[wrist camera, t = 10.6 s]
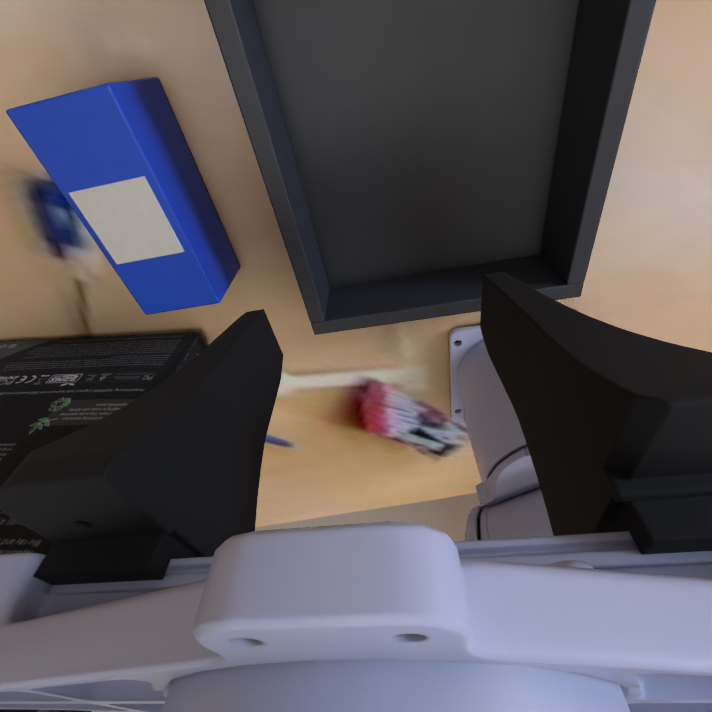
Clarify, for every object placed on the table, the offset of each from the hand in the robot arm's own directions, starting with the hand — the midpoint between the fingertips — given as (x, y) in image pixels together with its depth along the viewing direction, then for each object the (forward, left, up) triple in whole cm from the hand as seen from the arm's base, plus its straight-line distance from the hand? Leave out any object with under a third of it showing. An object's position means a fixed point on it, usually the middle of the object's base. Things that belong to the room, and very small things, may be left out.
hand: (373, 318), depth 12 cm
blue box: (+3, +10, -9) cm, 14 cm away
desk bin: (+4, -3, -9) cm, 11 cm away
